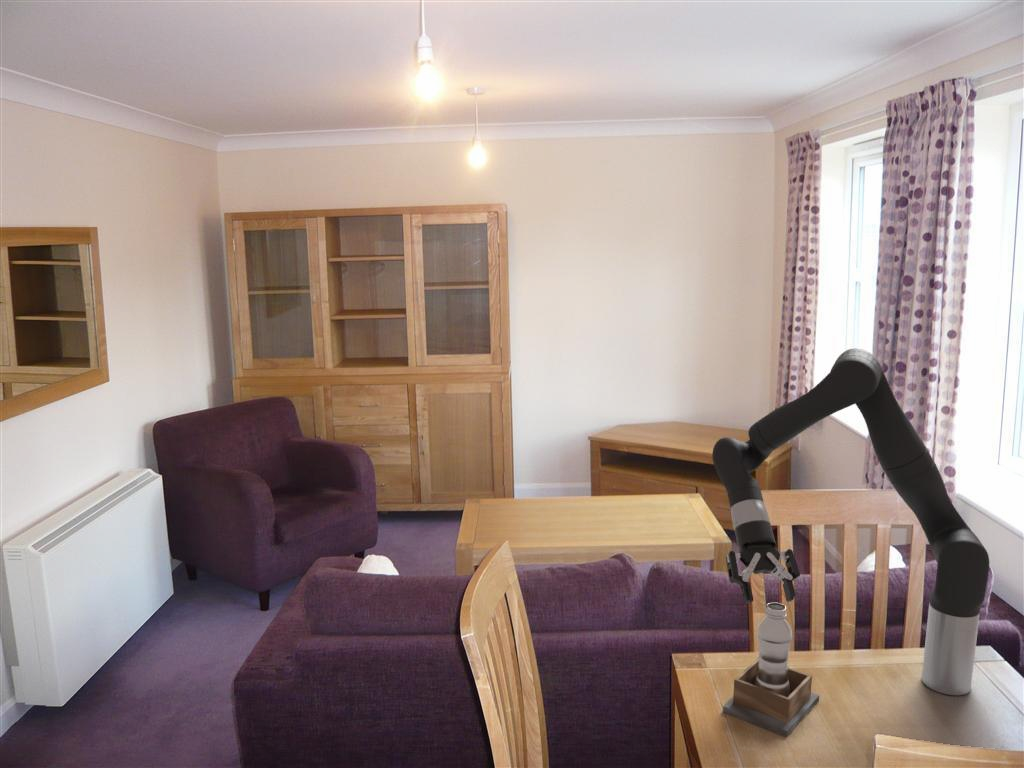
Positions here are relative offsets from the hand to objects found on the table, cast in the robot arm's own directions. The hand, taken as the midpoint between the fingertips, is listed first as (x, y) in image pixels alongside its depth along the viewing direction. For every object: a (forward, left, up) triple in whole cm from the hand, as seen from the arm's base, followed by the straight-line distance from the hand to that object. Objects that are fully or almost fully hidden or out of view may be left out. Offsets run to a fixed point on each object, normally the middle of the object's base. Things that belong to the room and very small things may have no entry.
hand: (770, 601), depth 173 cm
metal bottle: (+4, +3, -19) cm, 20 cm away
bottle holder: (+4, +3, -20) cm, 21 cm away
